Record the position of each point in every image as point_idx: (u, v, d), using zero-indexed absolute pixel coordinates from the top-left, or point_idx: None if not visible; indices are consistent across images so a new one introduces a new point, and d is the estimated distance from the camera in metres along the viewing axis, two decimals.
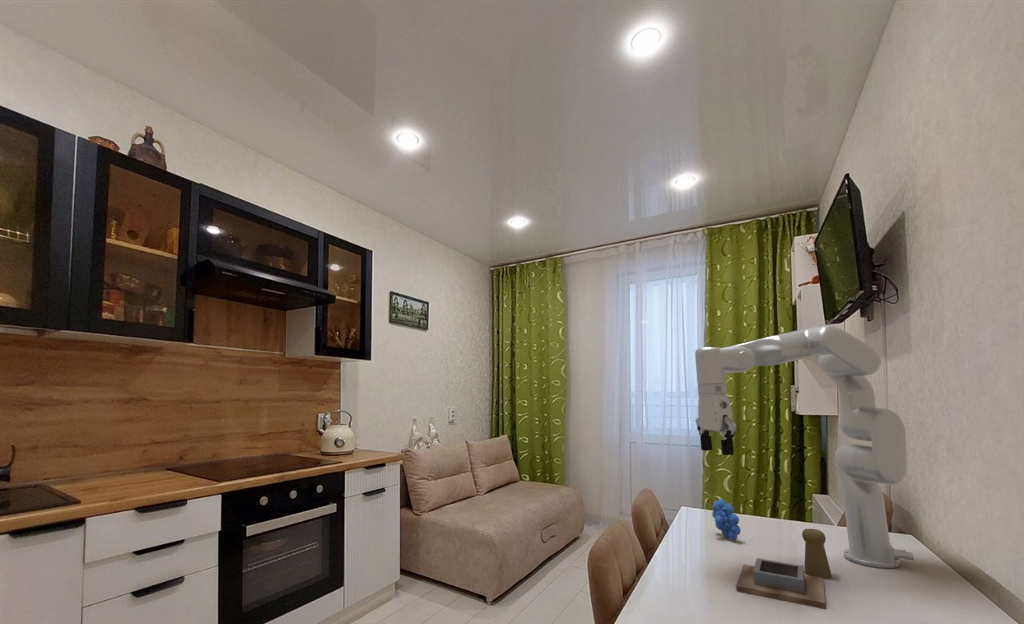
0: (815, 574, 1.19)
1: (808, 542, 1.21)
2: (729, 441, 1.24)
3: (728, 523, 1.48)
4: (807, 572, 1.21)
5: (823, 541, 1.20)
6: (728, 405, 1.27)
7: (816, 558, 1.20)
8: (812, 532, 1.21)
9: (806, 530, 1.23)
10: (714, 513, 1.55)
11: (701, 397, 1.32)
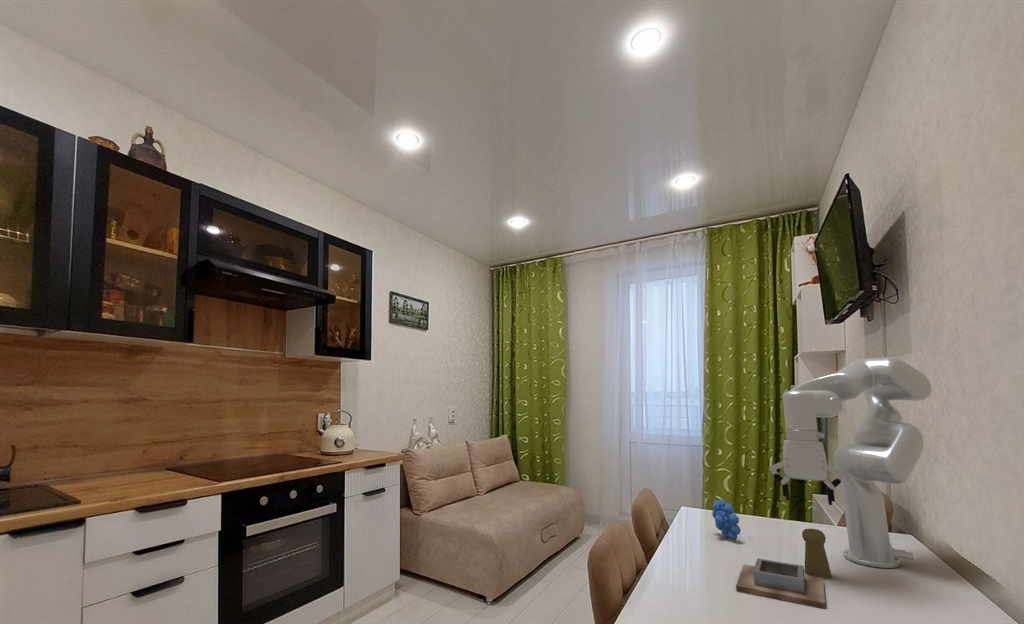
0: (815, 574, 1.19)
1: (808, 542, 1.21)
2: (833, 490, 1.21)
3: (728, 523, 1.48)
4: (807, 572, 1.21)
5: (823, 541, 1.20)
6: None
7: (816, 558, 1.20)
8: (812, 532, 1.21)
9: (806, 530, 1.23)
10: (714, 513, 1.55)
11: (795, 444, 1.25)
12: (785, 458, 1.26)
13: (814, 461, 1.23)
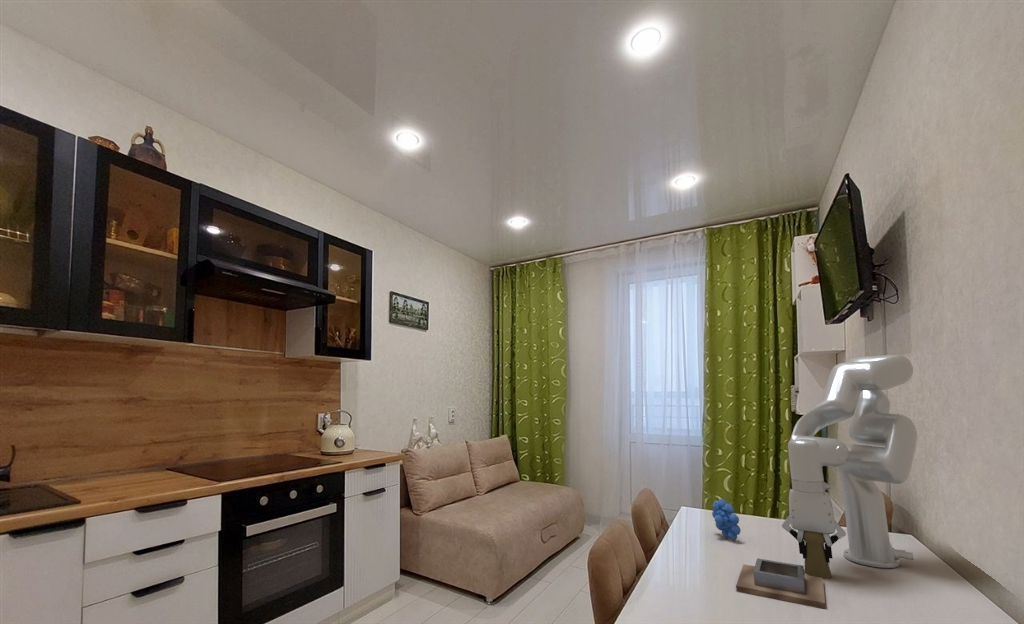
0: (815, 574, 1.19)
1: (808, 542, 1.21)
2: None
3: (728, 523, 1.48)
4: (807, 572, 1.21)
5: (823, 541, 1.20)
6: None
7: (816, 558, 1.20)
8: (812, 532, 1.21)
9: None
10: (714, 513, 1.55)
11: (801, 495, 1.23)
12: (791, 509, 1.24)
13: (821, 514, 1.20)
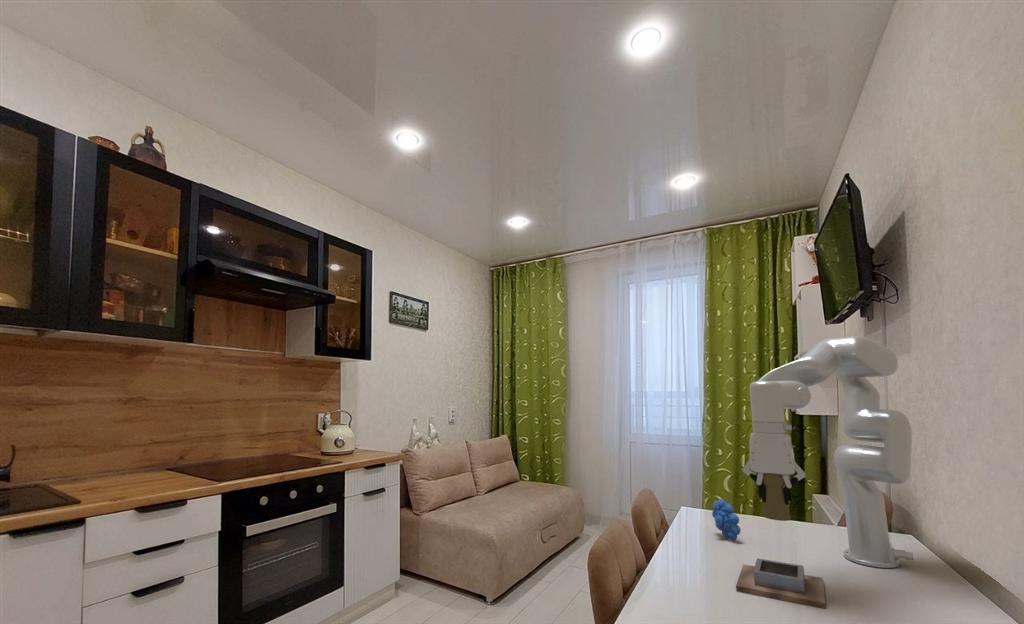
0: (773, 516, 1.15)
1: (767, 484, 1.17)
2: (790, 489, 1.16)
3: (728, 523, 1.48)
4: (766, 515, 1.17)
5: (782, 483, 1.16)
6: None
7: (775, 500, 1.15)
8: (772, 474, 1.17)
9: None
10: (714, 513, 1.55)
11: (761, 436, 1.19)
12: (751, 452, 1.20)
13: (780, 455, 1.16)
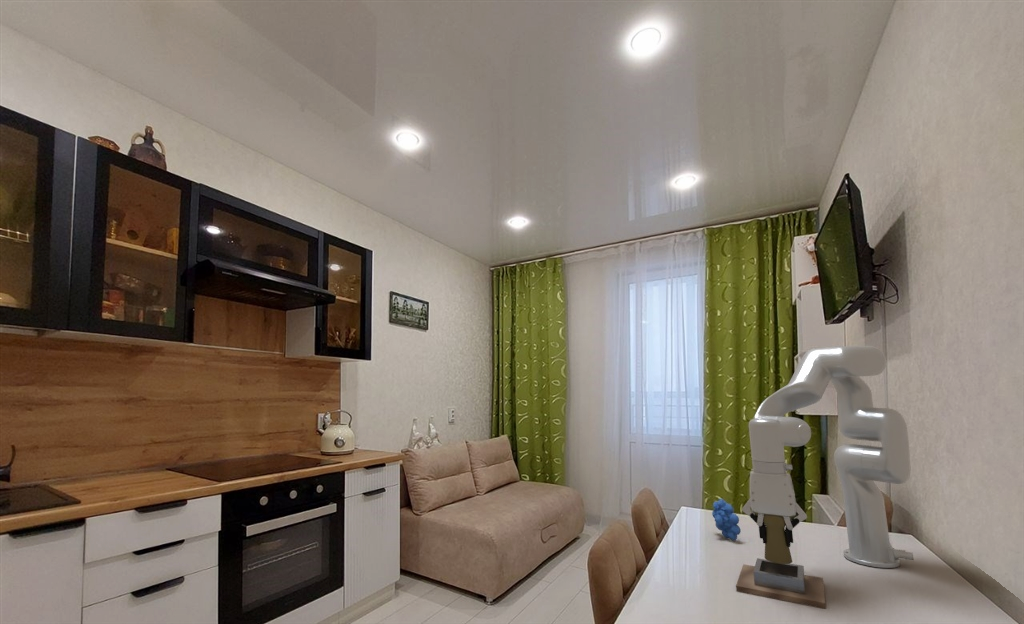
0: (775, 559, 1.13)
1: (768, 526, 1.15)
2: None
3: (728, 523, 1.48)
4: (767, 557, 1.14)
5: (783, 524, 1.14)
6: (792, 485, 1.16)
7: (776, 543, 1.13)
8: (772, 515, 1.15)
9: None
10: (714, 513, 1.55)
11: (761, 476, 1.17)
12: (751, 492, 1.18)
13: (781, 496, 1.14)
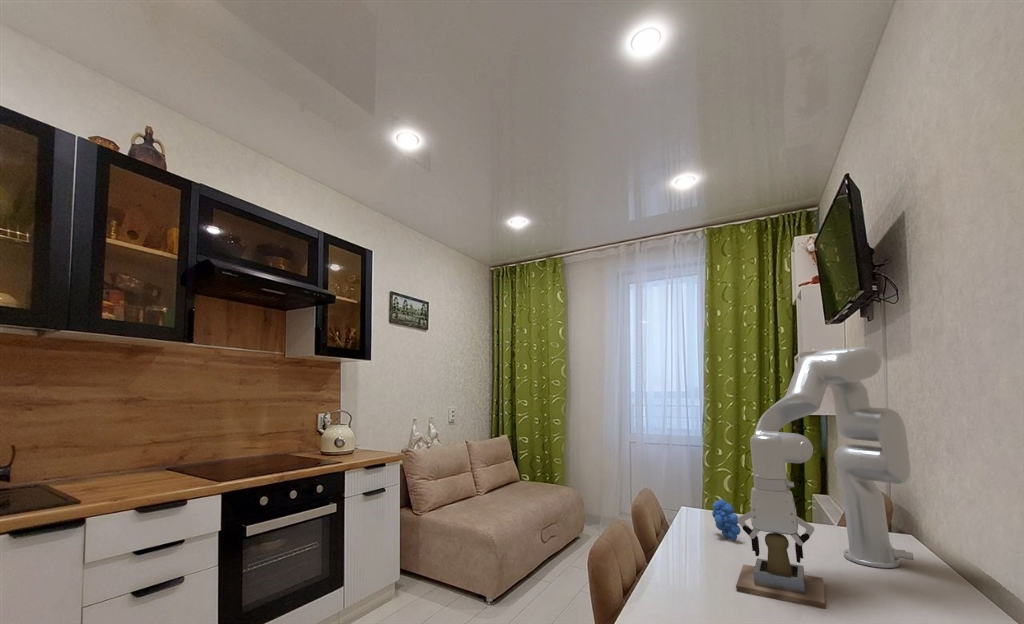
0: None
1: (770, 547, 1.14)
2: None
3: (728, 523, 1.48)
4: None
5: (786, 546, 1.13)
6: (794, 502, 1.15)
7: (778, 565, 1.12)
8: (774, 536, 1.14)
9: (769, 535, 1.16)
10: (714, 513, 1.55)
11: (763, 493, 1.16)
12: (752, 508, 1.17)
13: (782, 513, 1.13)
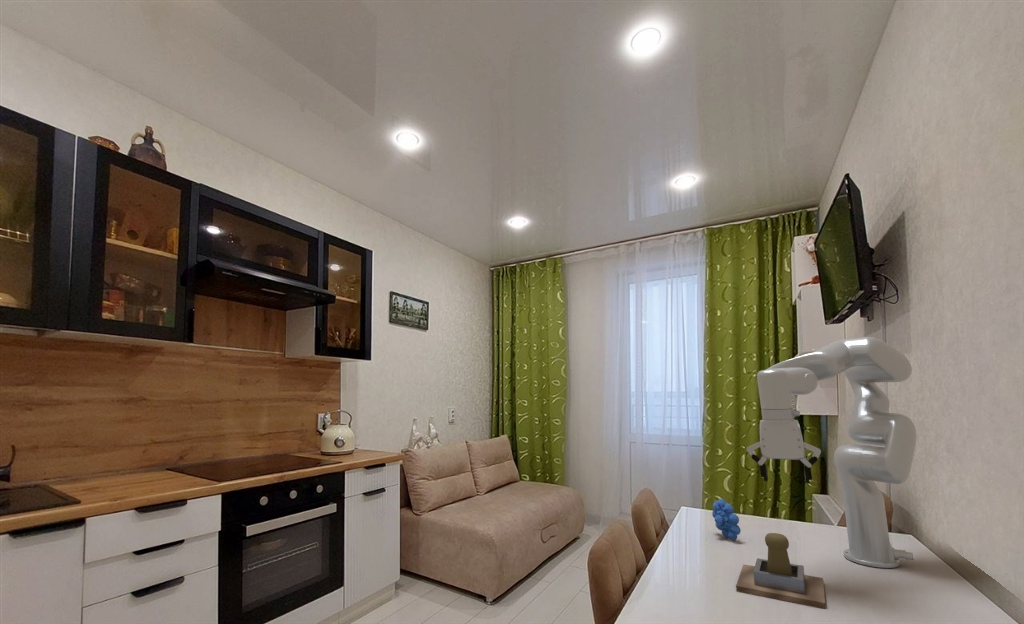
0: None
1: (770, 547, 1.14)
2: (810, 468, 1.20)
3: (728, 523, 1.48)
4: None
5: (786, 546, 1.13)
6: None
7: (778, 565, 1.12)
8: (775, 536, 1.14)
9: (769, 535, 1.16)
10: (714, 513, 1.55)
11: (771, 423, 1.23)
12: (761, 438, 1.24)
13: (790, 440, 1.21)
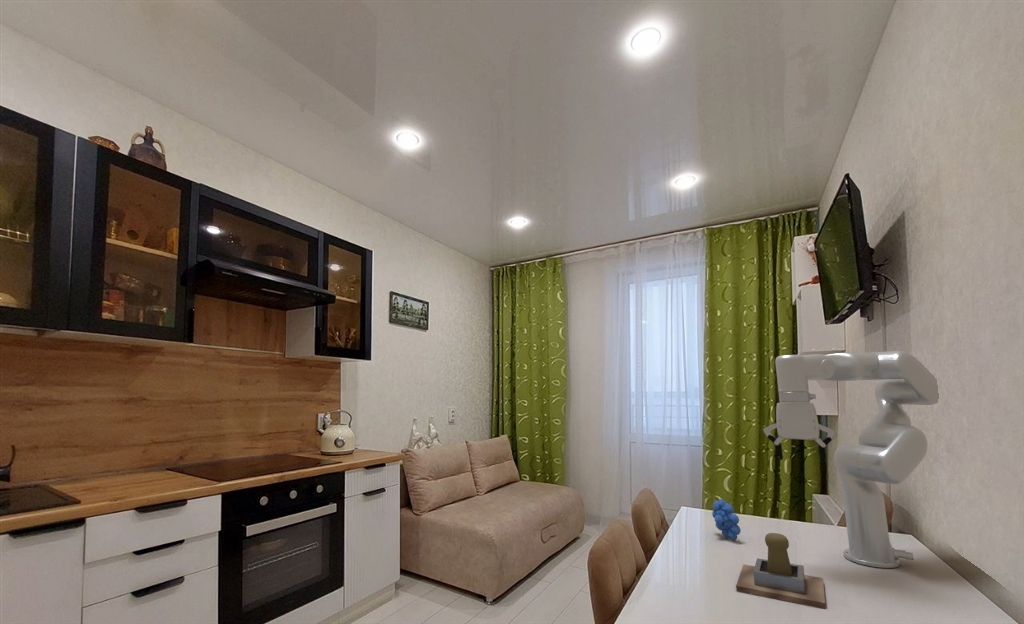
0: None
1: (770, 547, 1.14)
2: (824, 448, 1.26)
3: (728, 523, 1.48)
4: None
5: (786, 546, 1.13)
6: None
7: (778, 565, 1.12)
8: (775, 537, 1.14)
9: (769, 535, 1.16)
10: (714, 513, 1.55)
11: (788, 405, 1.30)
12: (778, 419, 1.31)
13: (806, 421, 1.27)
